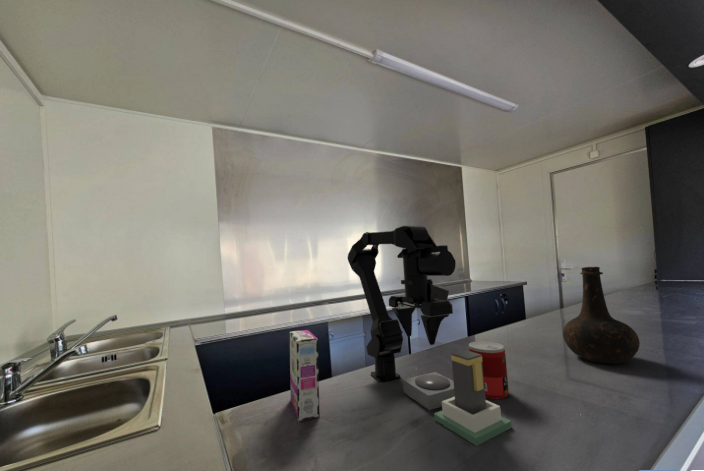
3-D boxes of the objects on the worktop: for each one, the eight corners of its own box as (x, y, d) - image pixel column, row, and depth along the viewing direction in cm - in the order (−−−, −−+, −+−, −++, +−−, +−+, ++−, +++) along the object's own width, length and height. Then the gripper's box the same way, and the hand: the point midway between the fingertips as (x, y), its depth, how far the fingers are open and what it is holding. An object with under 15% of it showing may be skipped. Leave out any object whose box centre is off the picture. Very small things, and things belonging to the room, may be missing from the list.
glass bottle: (580, 368, 81) (568, 268, 84) (556, 349, 98) (546, 267, 101) (660, 372, 76) (644, 266, 79) (619, 351, 93) (608, 265, 96)
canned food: (513, 400, 65) (509, 350, 66) (476, 399, 66) (471, 349, 67) (503, 386, 72) (499, 341, 73) (469, 385, 74) (466, 340, 75)
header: (434, 419, 58) (433, 400, 59) (467, 406, 63) (466, 388, 64) (476, 445, 50) (474, 423, 50) (511, 427, 54) (509, 407, 55)
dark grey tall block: (455, 415, 57) (451, 353, 58) (469, 409, 59) (464, 349, 60) (476, 426, 53) (470, 359, 54) (490, 420, 55) (484, 355, 56)
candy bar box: (321, 417, 61) (318, 338, 63) (297, 423, 60) (295, 341, 61) (310, 395, 72) (308, 328, 73) (290, 400, 70) (288, 330, 72)
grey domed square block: (403, 392, 71) (402, 377, 72) (436, 383, 75) (435, 370, 76) (429, 410, 62) (428, 393, 62) (464, 399, 66) (463, 384, 66)
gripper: (468, 274, 66) (474, 344, 65) (419, 273, 83) (423, 328, 82) (429, 277, 62) (434, 352, 60) (386, 275, 79) (389, 334, 77)
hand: (420, 340), depth 70 cm, fingers open, 9 cm apart
